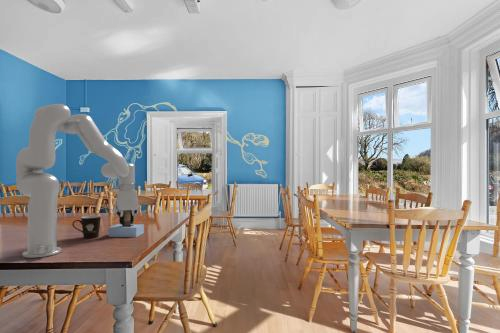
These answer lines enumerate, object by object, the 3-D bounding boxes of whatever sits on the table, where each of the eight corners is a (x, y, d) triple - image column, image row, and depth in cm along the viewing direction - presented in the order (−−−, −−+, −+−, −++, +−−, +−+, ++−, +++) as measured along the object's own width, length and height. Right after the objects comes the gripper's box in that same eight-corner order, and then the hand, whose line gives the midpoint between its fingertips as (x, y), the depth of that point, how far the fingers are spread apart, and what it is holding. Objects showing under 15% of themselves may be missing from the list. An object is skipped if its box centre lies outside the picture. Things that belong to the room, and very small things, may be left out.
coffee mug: (104, 235, 151) (104, 215, 152) (94, 239, 143) (94, 218, 143) (82, 235, 153) (82, 215, 153) (71, 239, 144) (71, 218, 144)
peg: (132, 230, 153) (132, 210, 153) (123, 231, 150) (123, 211, 150) (129, 228, 156) (129, 209, 156) (121, 229, 153) (121, 210, 153)
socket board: (143, 233, 157) (143, 224, 157) (136, 236, 148) (136, 227, 148) (117, 232, 158) (117, 224, 158) (108, 236, 149) (108, 227, 149)
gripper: (111, 188, 145) (111, 227, 145) (145, 187, 156) (145, 222, 156) (107, 188, 151) (106, 224, 150) (140, 186, 162) (140, 221, 161)
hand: (126, 223), depth 153 cm, fingers closed on peg, 3 cm apart
